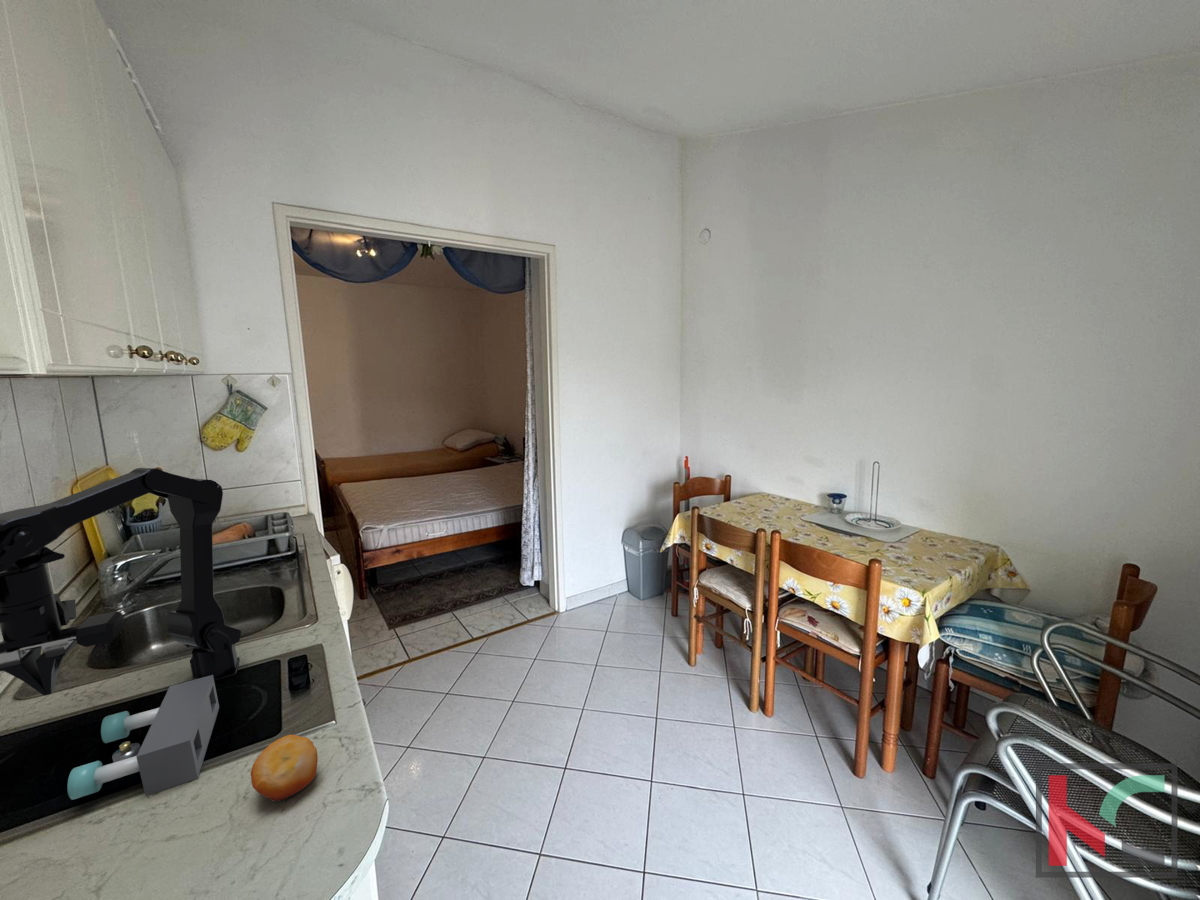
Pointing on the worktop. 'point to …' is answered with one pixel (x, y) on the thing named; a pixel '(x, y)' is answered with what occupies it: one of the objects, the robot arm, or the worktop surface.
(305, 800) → the worktop surface
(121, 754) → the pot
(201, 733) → the mount
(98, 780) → the knob
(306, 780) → the fruit
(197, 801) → the worktop surface
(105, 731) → the knob
